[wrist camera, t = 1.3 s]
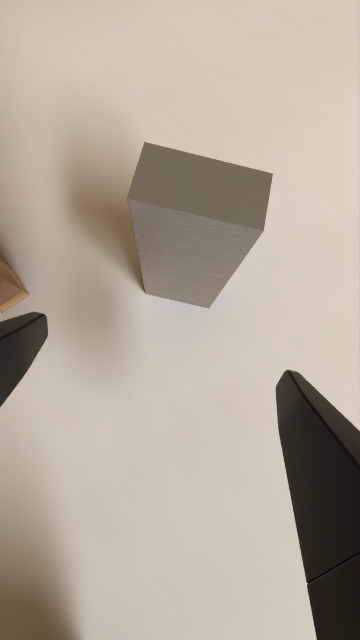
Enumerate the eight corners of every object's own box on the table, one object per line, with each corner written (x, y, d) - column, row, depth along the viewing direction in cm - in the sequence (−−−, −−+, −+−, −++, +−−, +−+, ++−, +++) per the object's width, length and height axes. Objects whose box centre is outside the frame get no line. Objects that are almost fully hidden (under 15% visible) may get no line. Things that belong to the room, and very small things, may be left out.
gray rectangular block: (208, 308, 24) (263, 231, 11) (145, 293, 24) (127, 198, 11) (214, 278, 24) (272, 173, 12) (153, 264, 24) (144, 142, 12)
